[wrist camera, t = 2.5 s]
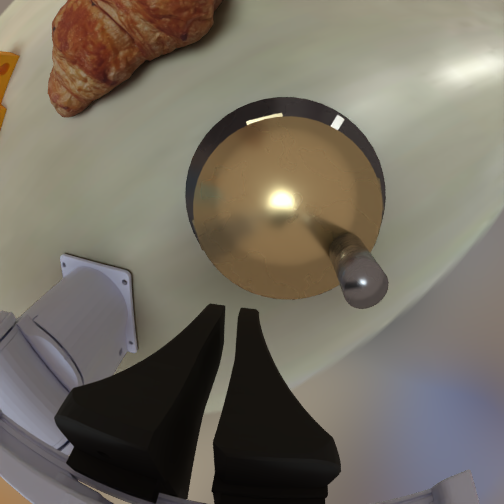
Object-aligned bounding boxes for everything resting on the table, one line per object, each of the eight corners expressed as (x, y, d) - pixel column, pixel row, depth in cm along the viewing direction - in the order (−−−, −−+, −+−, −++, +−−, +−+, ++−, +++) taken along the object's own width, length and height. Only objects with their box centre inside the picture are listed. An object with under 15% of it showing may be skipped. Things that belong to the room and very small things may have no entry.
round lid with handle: (181, 228, 18) (134, 278, 12) (257, 90, 14) (243, 58, 8) (308, 298, 19) (319, 371, 13) (393, 180, 15) (454, 209, 9)
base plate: (348, 296, 21) (352, 306, 19) (183, 265, 21) (177, 273, 19) (397, 129, 15) (405, 129, 14) (205, 87, 16) (200, 83, 14)
